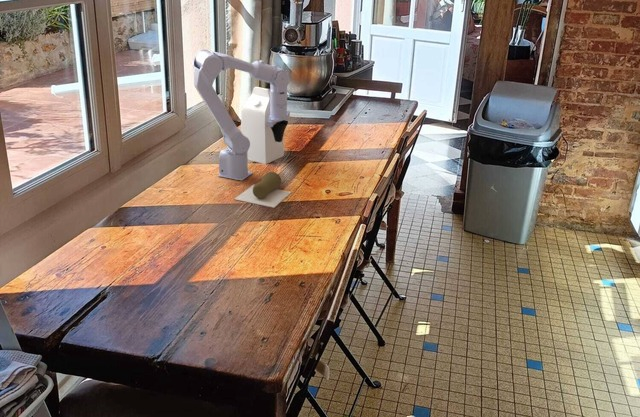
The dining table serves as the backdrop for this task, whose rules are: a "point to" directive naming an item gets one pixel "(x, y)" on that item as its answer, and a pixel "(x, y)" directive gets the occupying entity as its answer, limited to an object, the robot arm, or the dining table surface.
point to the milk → (260, 128)
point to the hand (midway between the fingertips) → (278, 141)
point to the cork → (267, 185)
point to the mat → (269, 201)
